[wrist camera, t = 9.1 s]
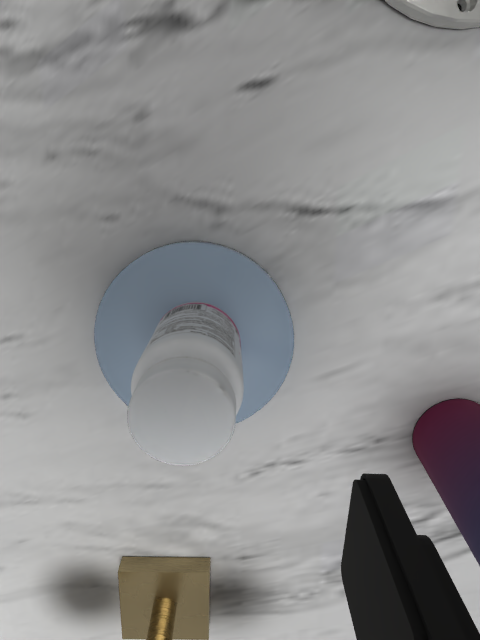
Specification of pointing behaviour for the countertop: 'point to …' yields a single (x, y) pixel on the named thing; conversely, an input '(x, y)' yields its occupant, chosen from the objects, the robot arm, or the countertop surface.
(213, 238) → the countertop surface
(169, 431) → the pill bottle
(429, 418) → the cup
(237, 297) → the saucer
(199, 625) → the balance
